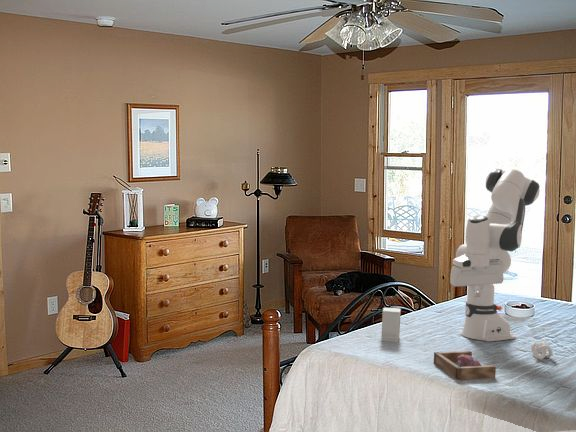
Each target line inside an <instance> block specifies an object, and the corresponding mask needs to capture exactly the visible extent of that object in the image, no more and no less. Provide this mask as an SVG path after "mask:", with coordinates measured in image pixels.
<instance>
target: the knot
mask: <svg viewBox="0 0 576 432" xmlns="http://www.w3.org/2000/svg"><path fill="white" fill-rule="evenodd" d="M530 348H531V352H532V356H533V357H535V359H537V360H540V361H542V360H544V359H545V358H546V359H550V358H551V357H552V356H553V352H554V351H553V349H552V347H551V346H549V345H547V342H545V341H541V342H539V343H538V342H532V343H531V347H530ZM547 352H548V353H547ZM539 354H540V355H539Z"/></svg>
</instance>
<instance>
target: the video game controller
mask: <svg viewBox="0 0 576 432" xmlns="http://www.w3.org/2000/svg"><path fill="white" fill-rule="evenodd" d="M457 361H458V363H457V364H459V365H460V366H461V367H469V366H483V365H482V364H481V363H480V362H479V360H478V359H476V358H474V357H471V356H469V355H463V354H462V355H460V356H459V357H457Z"/></svg>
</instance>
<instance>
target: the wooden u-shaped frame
mask: <svg viewBox="0 0 576 432" xmlns="http://www.w3.org/2000/svg"><path fill="white" fill-rule="evenodd" d="M462 354H463V355H469V356H471V357H472V356H473V355H472V354H473V352H472V351H471V350H459V351H458V350H457V351H455V350H454V351H439V352H438V351H437V352H436V351H435V352H433V364H434V365H436V366H437V367H439V368H440V369H442V370H443V371H444V372H445V373H447V374H448V375H450V376H451V377H453V378H454V379H456V380H457V381H459V380H460V381H461V380H463V381H464V380H475V379H476V380H477V379H494V378H496V370H497V369H496V368H497V366H496V365H494V364H493V365H492V364H490V365H482V366H469V365H468V366H469V367H462V366H459V365H458V364H459V363H458V361H457V357H459V356H460V355H462Z"/></svg>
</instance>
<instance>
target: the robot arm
mask: <svg viewBox="0 0 576 432" xmlns="http://www.w3.org/2000/svg"><path fill="white" fill-rule="evenodd" d="M485 188H486V190H487V191H488V192H490V193H491V196H490V197H491V202H492V204H491V206H490V208H489V210H488V211H487V214H486V216H485V215H476V216H475V215H474V216H471V217H469V218H468V220H467V222H466V229H465V244H464V243H463V244H460V245H459V247H458V248H457V249H456V252H455V258H453V259H452V265H453V266H452V267H451V270H450V278H449V283H450V284H451V285H452V286H454V287H455V288H456V287H457V288H458V287H467V288H466V289H467V290H466V294H467V295H466V302H465V307H464V308H465V312H464V313H465V318H464V323H463V328H462V331H461V333H460V334H461V335H462V336H463V337H465V338H469V339H473V340H477V341H478V340H479V341H483V342H489V343H490V342H496V341H497V342H498V341H504V340H505V341H507V340H514V339H516V338H517V337H516V334H515V333H513V332H511V326H510V323H509V321H507V320H506V319H505V318H504V317H503V316H502V315H501V314H500V313H498V311H500V312H501V311H502V310H503V306H502V305H499V304H498V305H497V304H495V285H497V284H499V285H500V284H502V283H503V282H504V273H506V272H507V271H509V269H510V267H511V265H512V264H511V263H512V259H511V255H510V254H509V252H514V251H515V250H517V249H518V248H520V247H521V244H522V240H523V238H522V237H523V236H522V235H523V233H522V232H523V228H524V222H525V221H524V220H525V214H526V206H530V205H532V204H533V203H535V201H536V200H537V199H538V198H539V196H540V184H539V183H538V182H537V181H535V180H534V179H530V178H528V177H526V176H525V175H524V174H523V173H522V172H521V171H520V170H517V169H508V170H503V169H500V168H495V169H492V170H491V171H490V172H489V173H488V174H487V176H486V179H485Z"/></svg>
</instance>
